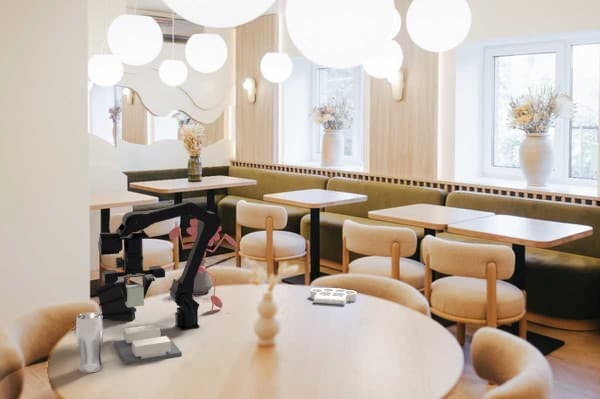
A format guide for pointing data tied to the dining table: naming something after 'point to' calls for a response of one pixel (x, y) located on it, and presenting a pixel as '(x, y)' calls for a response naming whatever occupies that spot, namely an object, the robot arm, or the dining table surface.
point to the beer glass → (90, 341)
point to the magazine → (114, 303)
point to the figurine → (193, 231)
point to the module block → (135, 295)
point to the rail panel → (134, 359)
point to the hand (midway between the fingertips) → (134, 300)
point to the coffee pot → (205, 278)
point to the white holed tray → (332, 295)
